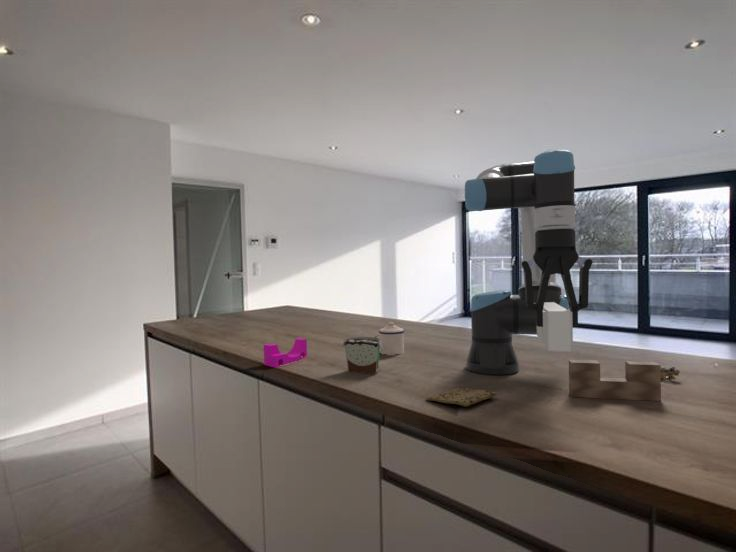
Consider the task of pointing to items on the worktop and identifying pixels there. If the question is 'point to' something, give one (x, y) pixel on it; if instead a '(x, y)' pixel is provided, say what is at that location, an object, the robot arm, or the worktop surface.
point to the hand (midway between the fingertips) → (556, 342)
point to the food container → (362, 354)
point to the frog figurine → (668, 374)
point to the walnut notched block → (615, 381)
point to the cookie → (462, 396)
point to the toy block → (277, 358)
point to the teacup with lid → (391, 339)
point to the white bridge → (556, 327)
